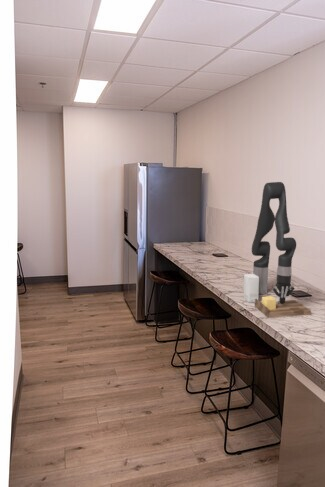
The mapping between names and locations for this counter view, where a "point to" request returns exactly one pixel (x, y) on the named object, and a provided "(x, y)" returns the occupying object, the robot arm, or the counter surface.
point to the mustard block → (269, 302)
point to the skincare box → (251, 287)
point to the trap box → (283, 309)
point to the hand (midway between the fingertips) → (282, 303)
